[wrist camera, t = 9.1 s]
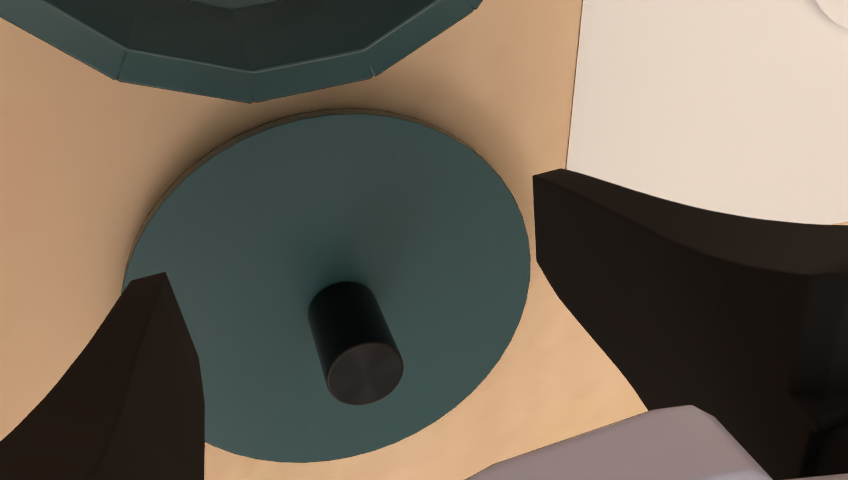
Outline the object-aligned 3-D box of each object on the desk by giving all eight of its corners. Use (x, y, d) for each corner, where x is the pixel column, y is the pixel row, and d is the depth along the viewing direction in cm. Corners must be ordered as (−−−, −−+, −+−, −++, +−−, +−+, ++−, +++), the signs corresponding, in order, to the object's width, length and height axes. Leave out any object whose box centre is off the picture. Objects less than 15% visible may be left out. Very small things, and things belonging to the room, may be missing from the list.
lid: (192, 486, 27) (195, 591, 23) (52, 159, 20) (23, 235, 16) (525, 382, 30) (576, 462, 26) (509, 61, 23) (577, 106, 19)
